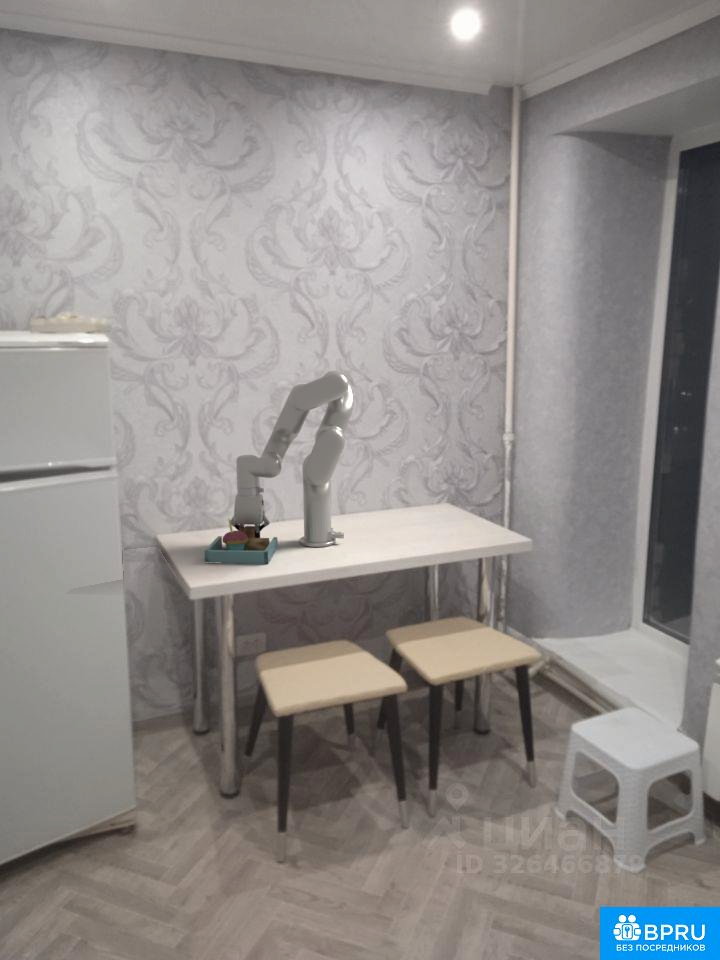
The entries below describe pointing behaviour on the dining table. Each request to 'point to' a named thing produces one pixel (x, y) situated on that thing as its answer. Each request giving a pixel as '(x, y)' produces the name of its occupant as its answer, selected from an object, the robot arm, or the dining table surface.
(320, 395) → the robot arm
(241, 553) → the tray
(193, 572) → the dining table surface
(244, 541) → the cupcake
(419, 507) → the dining table surface
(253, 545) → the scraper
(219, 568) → the dining table surface
